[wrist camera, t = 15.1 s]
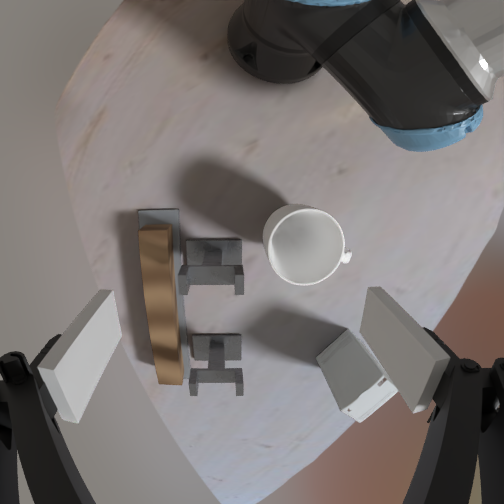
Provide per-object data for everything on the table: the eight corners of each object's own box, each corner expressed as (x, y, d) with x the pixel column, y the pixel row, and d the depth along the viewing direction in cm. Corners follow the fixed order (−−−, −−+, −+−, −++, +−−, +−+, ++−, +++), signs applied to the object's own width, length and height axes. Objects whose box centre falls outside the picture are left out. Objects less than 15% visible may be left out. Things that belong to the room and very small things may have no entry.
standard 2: (192, 334, 48) (185, 376, 38) (241, 334, 49) (245, 376, 38) (194, 358, 50) (189, 401, 39) (241, 358, 50) (245, 401, 40)
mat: (139, 210, 42) (138, 210, 41) (178, 209, 42) (178, 209, 42) (159, 376, 50) (159, 377, 50) (191, 377, 51) (191, 378, 50)
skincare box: (332, 371, 53) (358, 426, 39) (313, 355, 51) (338, 413, 37) (365, 342, 52) (401, 392, 38) (348, 325, 50) (384, 376, 36)
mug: (249, 248, 45) (257, 276, 33) (266, 190, 43) (282, 197, 31) (321, 268, 47) (350, 299, 35) (339, 214, 45) (376, 229, 33)
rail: (145, 224, 42) (138, 230, 38) (172, 224, 42) (166, 230, 39) (162, 369, 49) (158, 384, 46) (184, 370, 50) (182, 385, 46)
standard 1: (186, 239, 44) (174, 264, 33) (241, 239, 44) (246, 264, 34) (188, 272, 45) (177, 304, 34) (241, 271, 46) (245, 304, 35)
